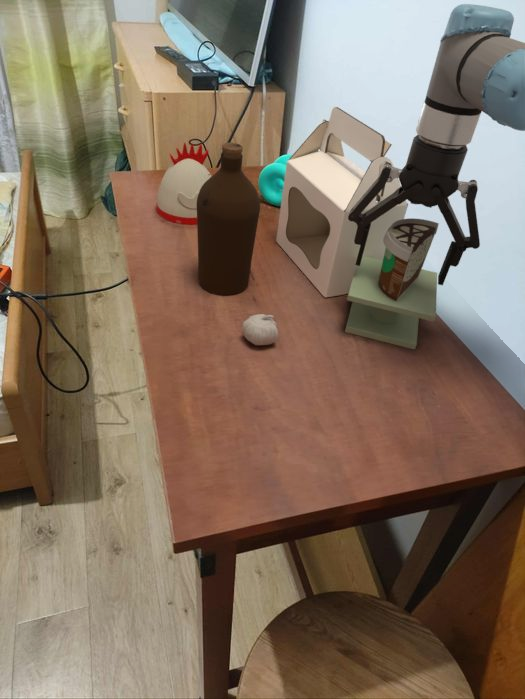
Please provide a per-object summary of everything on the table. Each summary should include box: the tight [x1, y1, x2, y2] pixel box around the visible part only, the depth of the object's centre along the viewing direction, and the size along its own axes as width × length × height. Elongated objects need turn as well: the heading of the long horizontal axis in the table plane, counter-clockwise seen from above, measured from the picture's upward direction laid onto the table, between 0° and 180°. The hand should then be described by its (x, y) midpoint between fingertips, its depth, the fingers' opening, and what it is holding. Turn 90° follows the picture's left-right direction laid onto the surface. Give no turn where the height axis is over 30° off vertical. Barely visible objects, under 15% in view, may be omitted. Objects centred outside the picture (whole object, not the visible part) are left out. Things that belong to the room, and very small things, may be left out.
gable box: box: [275, 106, 409, 299], centre depth 95 cm, size 22×13×28 cm, turn 24°
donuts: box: [257, 153, 293, 207], centre depth 122 cm, size 10×10×10 cm
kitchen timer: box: [156, 141, 212, 226], centre depth 111 cm, size 14×14×15 cm
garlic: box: [241, 313, 279, 346], centre depth 81 cm, size 6×5×5 cm
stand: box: [344, 256, 438, 350], centre depth 88 cm, size 14×14×8 cm
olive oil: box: [196, 142, 261, 296], centre depth 87 cm, size 11×11×25 cm
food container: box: [378, 217, 440, 301], centre depth 83 cm, size 12×6×10 cm, turn 145°
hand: (398, 271), depth 84 cm, fingers open, 13 cm apart
